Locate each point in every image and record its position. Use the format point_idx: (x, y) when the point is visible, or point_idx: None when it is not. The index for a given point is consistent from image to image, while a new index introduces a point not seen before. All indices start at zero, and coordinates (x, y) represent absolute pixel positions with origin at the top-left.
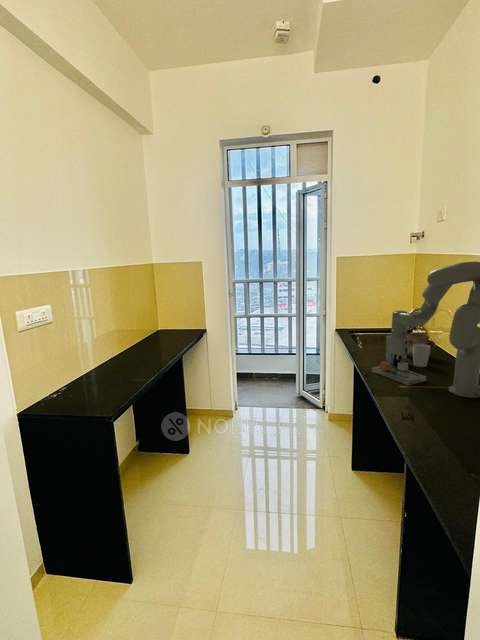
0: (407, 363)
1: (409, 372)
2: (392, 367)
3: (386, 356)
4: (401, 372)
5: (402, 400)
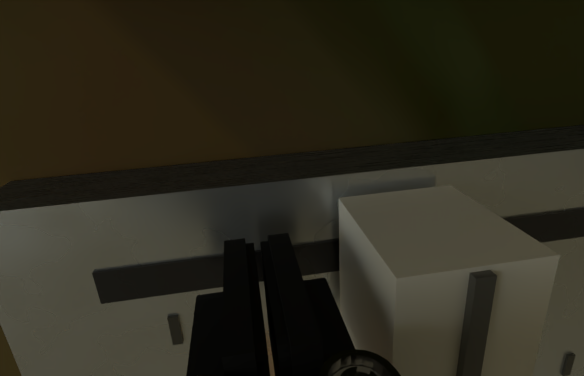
0: (546, 275)
1: None
2: None
3: None
4: None
5: None
